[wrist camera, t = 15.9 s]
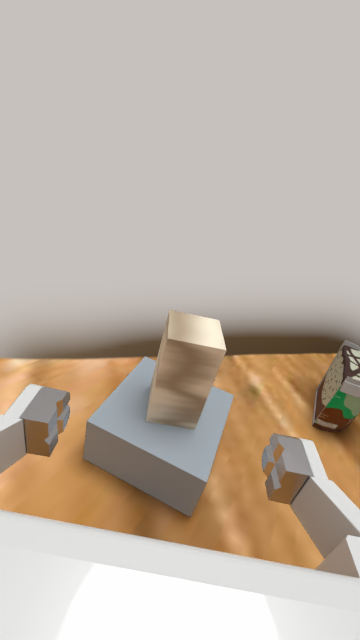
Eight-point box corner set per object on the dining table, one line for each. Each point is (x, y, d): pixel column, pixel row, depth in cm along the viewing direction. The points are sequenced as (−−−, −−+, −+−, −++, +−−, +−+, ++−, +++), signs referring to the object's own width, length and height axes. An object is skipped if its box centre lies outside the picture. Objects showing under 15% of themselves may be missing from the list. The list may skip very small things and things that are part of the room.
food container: (357, 456, 38) (402, 403, 34) (311, 432, 40) (347, 378, 36) (353, 402, 49) (387, 355, 44) (316, 385, 50) (345, 338, 46)
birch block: (193, 393, 33) (219, 320, 28) (195, 429, 29) (226, 350, 24) (150, 386, 33) (169, 309, 28) (145, 421, 28) (167, 338, 24)
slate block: (219, 428, 38) (233, 395, 35) (189, 519, 27) (206, 482, 24) (137, 390, 40) (145, 356, 37) (82, 460, 30) (87, 420, 27)
